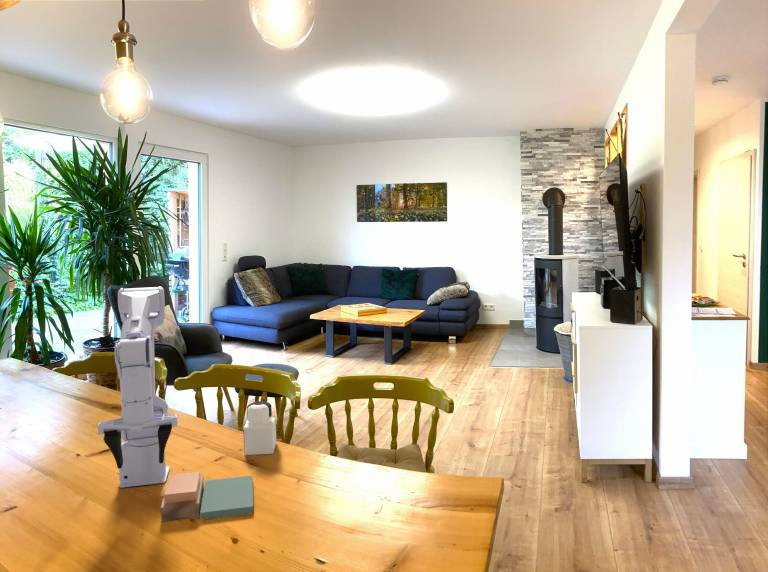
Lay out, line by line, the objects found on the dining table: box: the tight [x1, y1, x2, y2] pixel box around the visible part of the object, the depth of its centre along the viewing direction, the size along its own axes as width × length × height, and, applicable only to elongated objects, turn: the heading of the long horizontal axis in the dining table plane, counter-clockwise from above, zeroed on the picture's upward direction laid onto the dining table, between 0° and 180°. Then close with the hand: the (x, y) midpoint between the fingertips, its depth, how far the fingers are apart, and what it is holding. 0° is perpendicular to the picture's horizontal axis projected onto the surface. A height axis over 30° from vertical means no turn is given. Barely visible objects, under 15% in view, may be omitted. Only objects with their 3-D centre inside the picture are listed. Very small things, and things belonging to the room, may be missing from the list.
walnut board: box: [160, 475, 205, 523], centre depth 116 cm, size 7×12×3 cm, turn 13°
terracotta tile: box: [163, 471, 201, 504], centre depth 116 cm, size 6×9×2 cm, turn 13°
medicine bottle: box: [242, 400, 277, 456], centre depth 144 cm, size 7×7×12 cm
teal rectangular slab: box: [199, 475, 254, 521], centre depth 119 cm, size 10×14×2 cm
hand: (141, 463), depth 114 cm, fingers open, 7 cm apart
